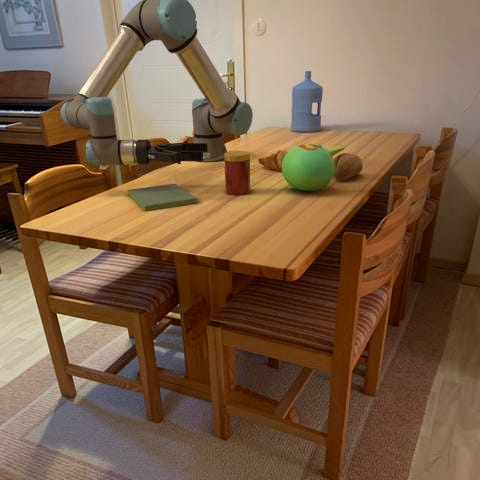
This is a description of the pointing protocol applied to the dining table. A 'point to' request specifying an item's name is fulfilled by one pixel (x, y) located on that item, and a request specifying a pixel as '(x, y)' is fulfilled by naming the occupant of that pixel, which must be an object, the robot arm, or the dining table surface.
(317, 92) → the water jug
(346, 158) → the bread roll
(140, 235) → the dining table surface
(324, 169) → the toy bird
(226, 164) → the jam jar
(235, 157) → the jam lid
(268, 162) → the croissant
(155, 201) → the corner board
